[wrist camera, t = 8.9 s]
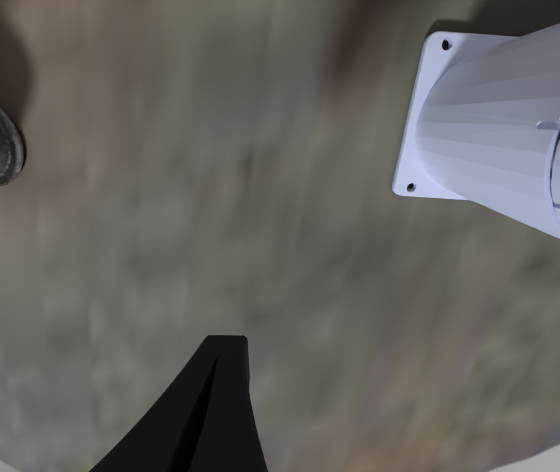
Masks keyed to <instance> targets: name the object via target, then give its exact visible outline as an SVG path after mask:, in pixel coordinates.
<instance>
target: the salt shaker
mask: <svg viewBox="0 0 560 472" xmlns="http://www.w3.org/2000/svg"><path fill="white" fill-rule="evenodd" d="M23 160H24V153H23V145H22V141H21V138H20V134H19V133H18V131H17V129H16V127H15V125H14V123H13V122H12V120H11V119H10V118H9V117H8V115H7V114H6V113H5V112H4V111H3V110H2V109H1V108H0V186H2V185H6V184H8V183H9V182H11V181H12V180H14V179H15V178H16V177H17V175H18V174H19V172H20V171H21V168H22V164H23Z"/></svg>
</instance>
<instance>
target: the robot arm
mask: <svg viewBox="0 0 560 472" xmlns="http://www.w3.org/2000/svg"><path fill="white" fill-rule="evenodd" d="M443 40H447V41H448V43H449V46H448V48H447V50H446V51H445V50H443V48H442V42H443ZM411 183H413V188H412V189H411V190H409V191H407V186H408V185H409V184H411ZM392 190H393V192H395V193H396V194H397V195H401V196H416V197H431V198H446V199H461V200H472V201H474V202H477V203H479V204H481V205H483V206H486V207H488V208H490V209H493V210H495V211H497V212H499V213H502V214H504V215H506V216H509V217H511V218H513V219H515V220H518V221H520V222H522V223H525V224H527V225H529V226H531V227H534V228H536V229H538V230H541V231H543V232H545V233H547V234H550V235H552V236H554V237H557V238H559V239H560V23H559V24H556V25H553V26H551V27H548V28H545V29H542V30H539V31H536V32H533V33H530V34H527V35H524V36H521V37H513V36H499V35H486V34H473V33H460V32H446V31H436V32H434V33H432V34H431V35H429V36H428V37H427V38H426V39H425V42H424V44H423V49H422V53H421V58H420V62H419V67H418V71H417V76H416V80H415V85H414V89H413V94H412V98H411V103H410V107H409V112H408V116H407V121H406V125H405V130H404V134H403V139H402V143H401V148H400V152H399V157H398V161H397V166H396V170H395V175H394V179H393V184H392ZM249 380H250V374H249V357H248V340H247V338H246V337H245V336H231V335H208V336H207V337H206V338H205V339H204V341H203V342H202V343H201V345H200V346H199V348H198V349H197V350H196V352H195V353H194V355H193V356H192V357H191V359H190V360H189V361H188V363H187V364H186V365H185V367H184V368H183V369H182V371H181V372H180V373H179V374H178V376H177V377H176V378H175V379H174V381H173V382H172V383H171V384H170V386H169V387H168V388H167V389H166V391H165V392H164V393H163V394H162V395H161V397H160V398H159V399H158V400H157V401H156V402H155V403H154V405H153V406H152V407H151V408H150V409H149V410H148V411H147V413H146V414H145V415H144V416H143V417H142V418H141V419H140V421H139V422H138V423H137V424H136V425H135V426H134V427H133V428H132V429H131V430H130V431H129V432H128V433H127V434H126V436H125V437H124V438H123V439H122V440H121V441H120V442H119V443H118V444H117V445H116V446H115V447H114V448H113V449H112V450H111V451H110V452H109V453H108V454H107V455H106V456H105V457H104V458H103V459H102V460H101V461H100V462H99V463H98V464H97V465H95V466H94V467H93V468H92V469H91V470H90V471H89V472H268V470H267V467H266V463H265V460H264V456H263V452H262V449H261V445H260V441H259V437H258V433H257V429H256V425H255V420H254V415H253V411H252V406H251V400H250V395H249Z"/></svg>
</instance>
